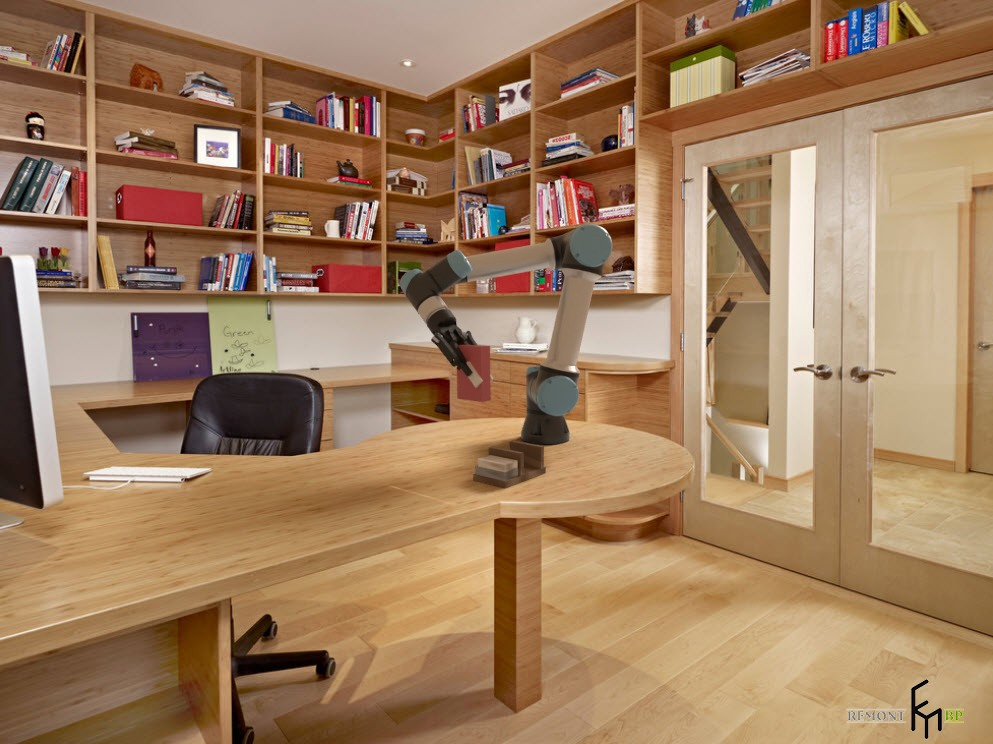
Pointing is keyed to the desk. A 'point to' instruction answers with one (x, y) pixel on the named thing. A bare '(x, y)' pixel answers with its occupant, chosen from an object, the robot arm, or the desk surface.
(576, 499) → the desk surface
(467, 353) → the book
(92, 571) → the desk surface
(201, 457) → the desk surface
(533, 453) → the book stand
